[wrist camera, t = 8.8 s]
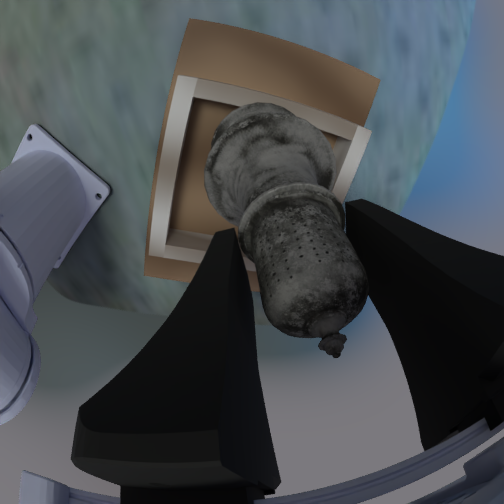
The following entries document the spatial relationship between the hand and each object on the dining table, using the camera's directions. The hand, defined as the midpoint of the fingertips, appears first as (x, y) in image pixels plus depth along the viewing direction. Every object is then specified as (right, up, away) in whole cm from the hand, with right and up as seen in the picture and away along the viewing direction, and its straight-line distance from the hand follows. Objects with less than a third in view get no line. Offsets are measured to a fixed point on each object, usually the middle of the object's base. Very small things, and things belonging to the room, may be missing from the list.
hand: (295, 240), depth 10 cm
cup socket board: (-2, +5, +9) cm, 11 cm away
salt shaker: (-1, +5, +6) cm, 8 cm away
